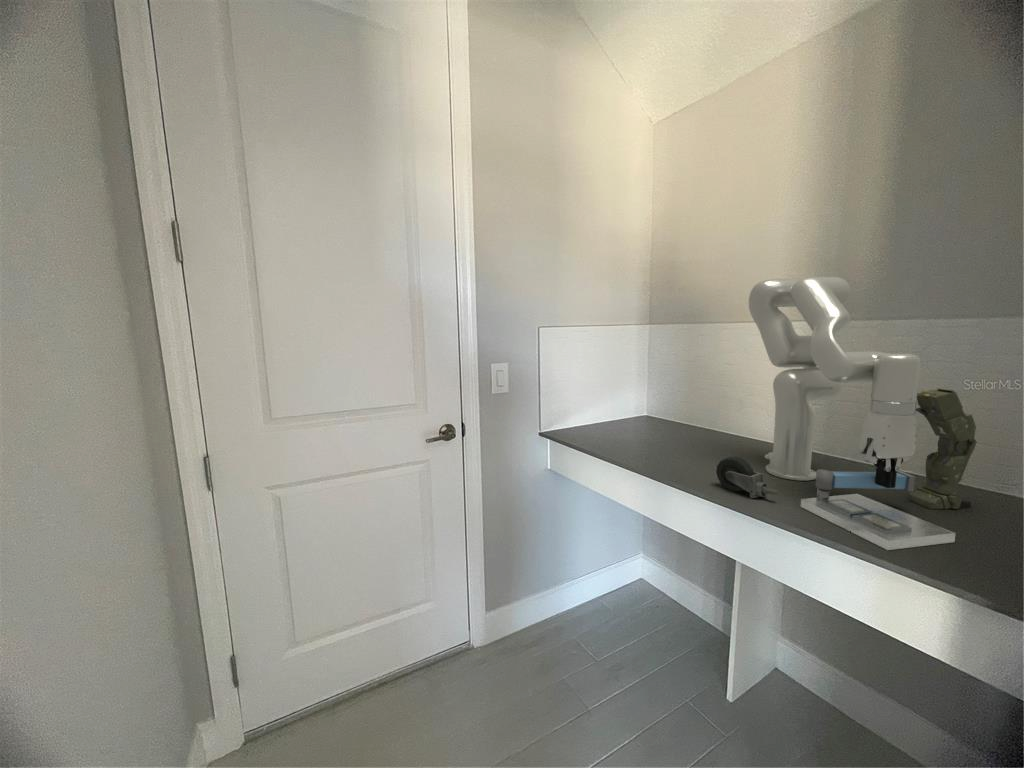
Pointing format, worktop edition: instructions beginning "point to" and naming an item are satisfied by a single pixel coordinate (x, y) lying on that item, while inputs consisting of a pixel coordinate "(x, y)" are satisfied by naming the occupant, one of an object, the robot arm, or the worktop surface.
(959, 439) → the mechanical leg
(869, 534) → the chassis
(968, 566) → the worktop surface
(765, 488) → the caster wheel
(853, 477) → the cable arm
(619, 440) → the worktop surface
